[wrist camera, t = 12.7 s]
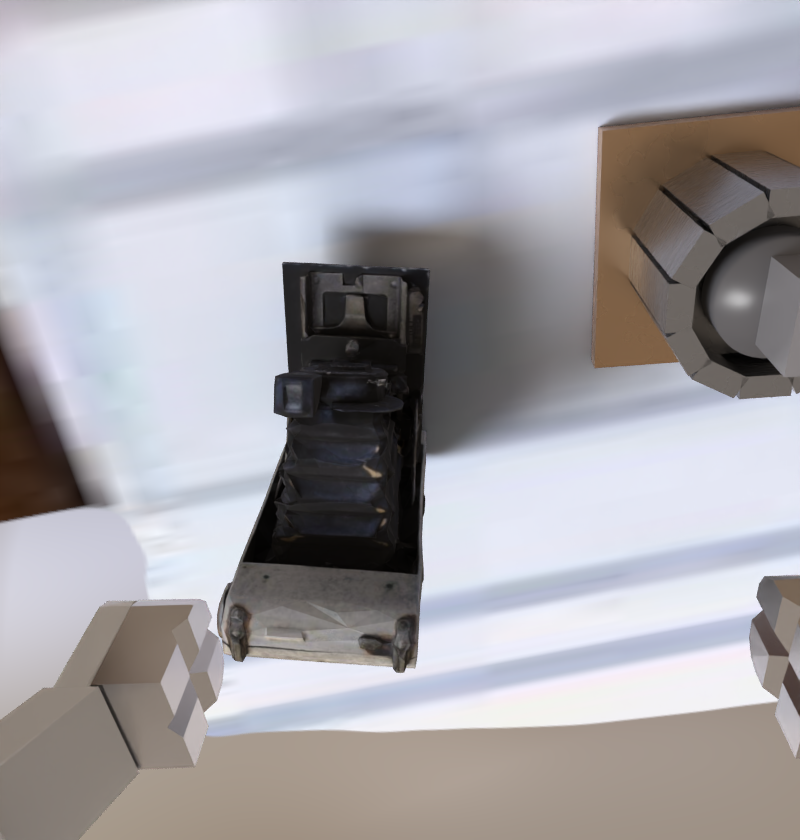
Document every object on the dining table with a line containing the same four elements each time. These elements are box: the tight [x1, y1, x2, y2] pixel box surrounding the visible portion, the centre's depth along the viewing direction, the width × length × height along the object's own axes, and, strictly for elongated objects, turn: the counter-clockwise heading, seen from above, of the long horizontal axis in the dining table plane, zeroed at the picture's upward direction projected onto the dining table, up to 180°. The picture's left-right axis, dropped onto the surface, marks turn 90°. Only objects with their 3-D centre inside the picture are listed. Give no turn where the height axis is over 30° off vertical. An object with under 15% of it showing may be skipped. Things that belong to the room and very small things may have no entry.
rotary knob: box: [702, 226, 800, 377], centre depth 33 cm, size 6×6×6 cm
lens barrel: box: [591, 106, 800, 399], centre depth 37 cm, size 14×14×9 cm
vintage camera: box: [217, 262, 430, 673], centre depth 38 cm, size 10×15×20 cm, turn 178°
